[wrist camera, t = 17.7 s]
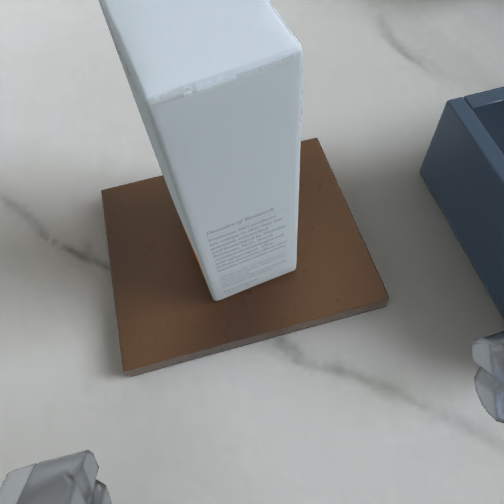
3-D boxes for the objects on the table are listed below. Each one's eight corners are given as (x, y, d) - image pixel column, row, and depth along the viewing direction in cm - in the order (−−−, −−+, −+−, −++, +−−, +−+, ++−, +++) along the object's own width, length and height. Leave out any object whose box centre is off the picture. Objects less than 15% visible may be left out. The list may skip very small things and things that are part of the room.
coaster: (129, 377, 20) (122, 371, 20) (107, 200, 25) (100, 189, 24) (386, 306, 21) (390, 297, 20) (316, 149, 26) (317, 136, 25)
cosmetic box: (173, 207, 24) (83, -35, 13) (250, 178, 24) (223, -75, 14) (213, 308, 21) (139, 101, 10) (300, 273, 21) (313, 44, 11)
